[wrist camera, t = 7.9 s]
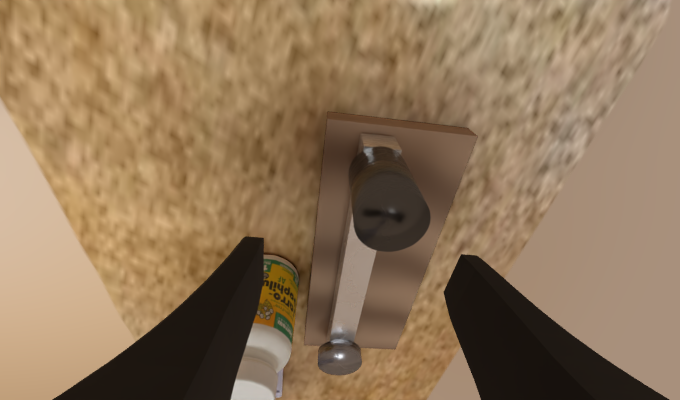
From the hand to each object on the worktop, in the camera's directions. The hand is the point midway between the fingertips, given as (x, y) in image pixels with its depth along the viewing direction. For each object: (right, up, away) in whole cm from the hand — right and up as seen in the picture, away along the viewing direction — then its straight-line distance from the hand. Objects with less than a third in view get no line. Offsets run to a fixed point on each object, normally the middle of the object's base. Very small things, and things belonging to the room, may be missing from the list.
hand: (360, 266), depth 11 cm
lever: (0, -2, +12) cm, 12 cm away
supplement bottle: (-7, -4, +15) cm, 17 cm away
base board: (+2, -2, +13) cm, 14 cm away
